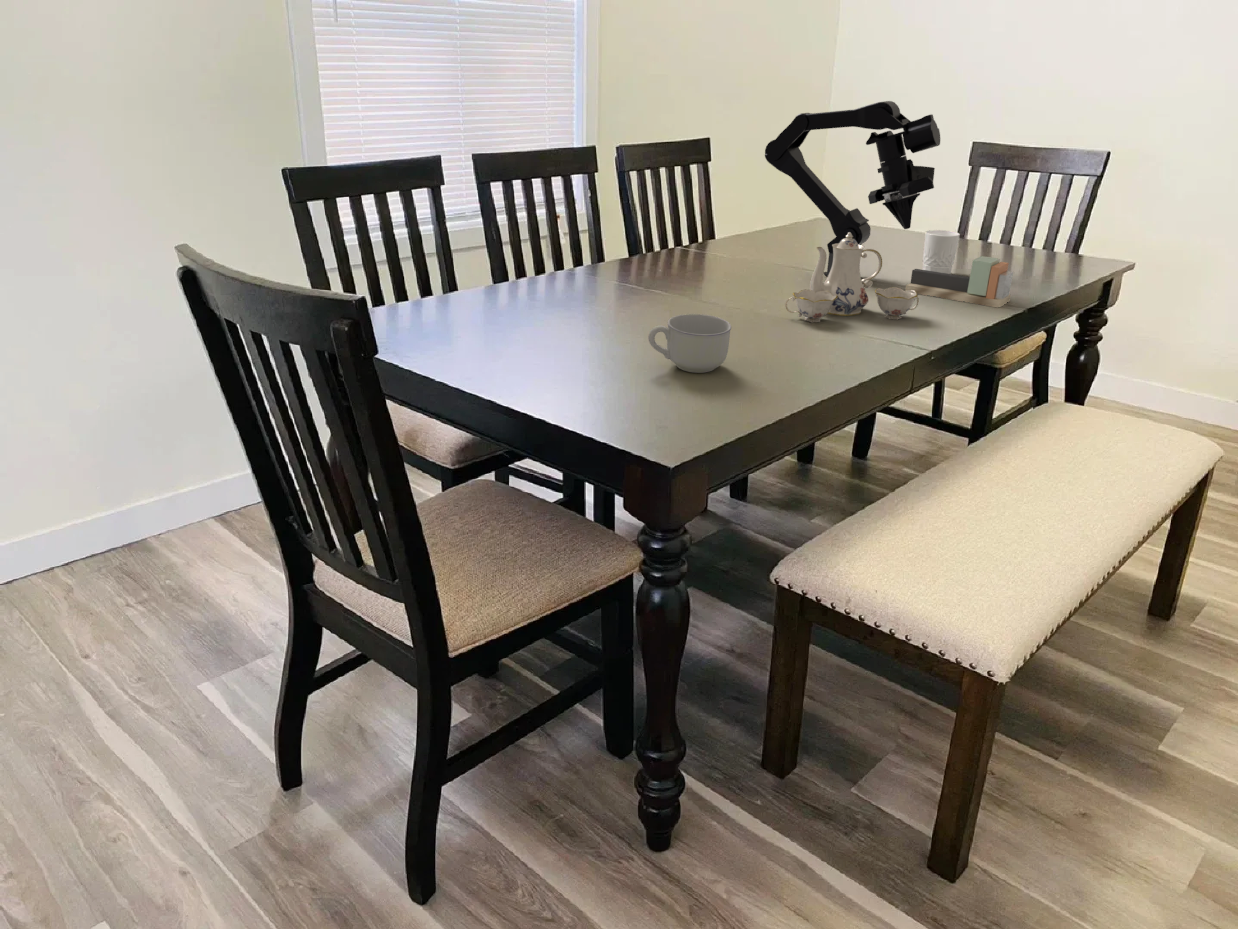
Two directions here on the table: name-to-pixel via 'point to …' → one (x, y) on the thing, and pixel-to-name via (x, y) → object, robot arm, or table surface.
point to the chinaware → (848, 287)
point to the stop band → (995, 278)
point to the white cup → (940, 250)
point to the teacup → (694, 341)
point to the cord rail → (940, 280)
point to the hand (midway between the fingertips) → (907, 228)
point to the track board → (957, 295)
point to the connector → (1004, 285)
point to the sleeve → (981, 275)
